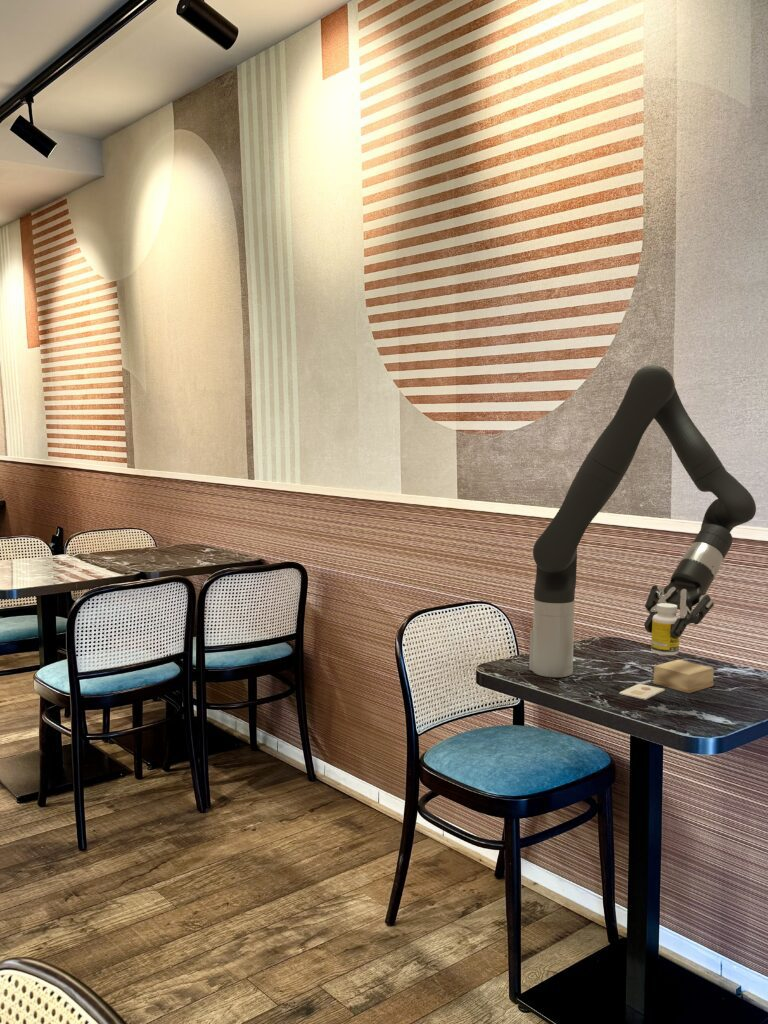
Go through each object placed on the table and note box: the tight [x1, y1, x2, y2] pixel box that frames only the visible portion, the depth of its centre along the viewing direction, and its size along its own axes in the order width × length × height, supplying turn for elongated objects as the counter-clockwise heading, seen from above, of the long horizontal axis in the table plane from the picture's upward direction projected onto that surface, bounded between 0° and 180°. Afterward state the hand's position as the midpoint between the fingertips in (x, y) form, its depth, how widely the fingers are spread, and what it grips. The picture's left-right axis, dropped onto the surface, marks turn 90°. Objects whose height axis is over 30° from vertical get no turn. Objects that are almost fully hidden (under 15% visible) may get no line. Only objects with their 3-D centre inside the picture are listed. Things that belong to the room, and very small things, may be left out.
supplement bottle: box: [650, 602, 680, 656], centre depth 182 cm, size 5×5×10 cm
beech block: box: [652, 659, 715, 694], centre depth 200 cm, size 9×9×4 cm
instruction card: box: [619, 683, 666, 701], centre depth 194 cm, size 6×9×1 cm, turn 137°
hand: (660, 633), depth 181 cm, fingers closed on supplement bottle, 5 cm apart
